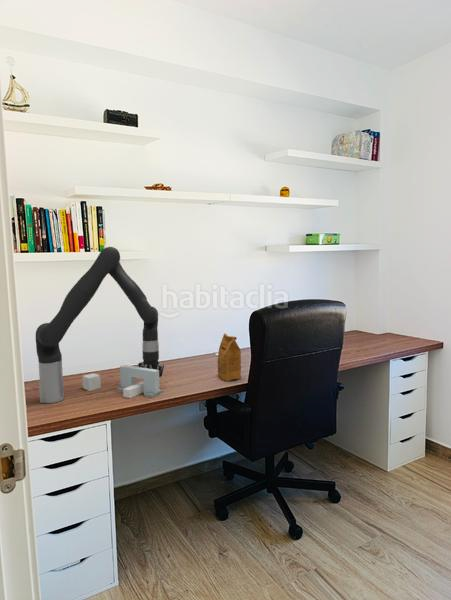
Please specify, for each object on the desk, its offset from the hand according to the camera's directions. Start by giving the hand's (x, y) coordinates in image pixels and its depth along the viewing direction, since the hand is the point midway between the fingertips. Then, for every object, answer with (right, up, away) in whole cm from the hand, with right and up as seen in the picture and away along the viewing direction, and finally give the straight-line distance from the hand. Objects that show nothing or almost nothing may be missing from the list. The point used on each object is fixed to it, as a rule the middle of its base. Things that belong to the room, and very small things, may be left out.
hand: (151, 384), depth 198 cm
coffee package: (+37, +1, +13) cm, 39 cm away
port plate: (-4, -2, -7) cm, 8 cm away
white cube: (-28, -2, -1) cm, 28 cm away
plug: (-4, -2, -7) cm, 8 cm away
